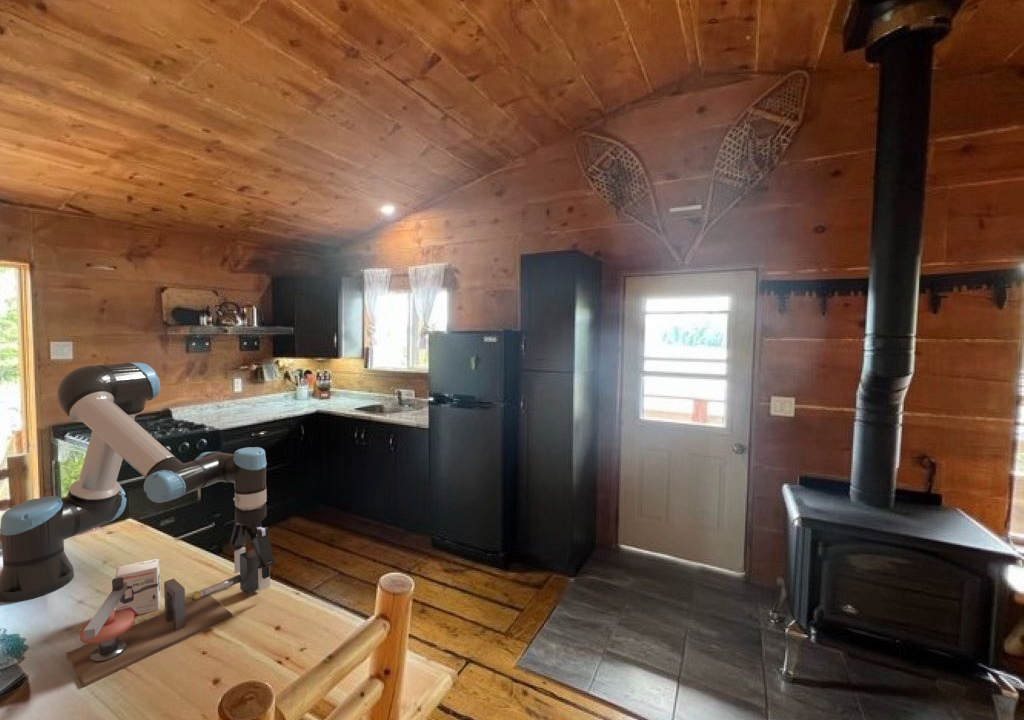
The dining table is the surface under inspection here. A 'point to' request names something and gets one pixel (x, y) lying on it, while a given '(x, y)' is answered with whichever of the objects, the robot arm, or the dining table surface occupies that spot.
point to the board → (149, 639)
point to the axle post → (108, 650)
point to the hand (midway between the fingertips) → (251, 579)
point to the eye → (175, 604)
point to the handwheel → (108, 617)
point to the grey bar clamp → (236, 577)
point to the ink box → (140, 587)
